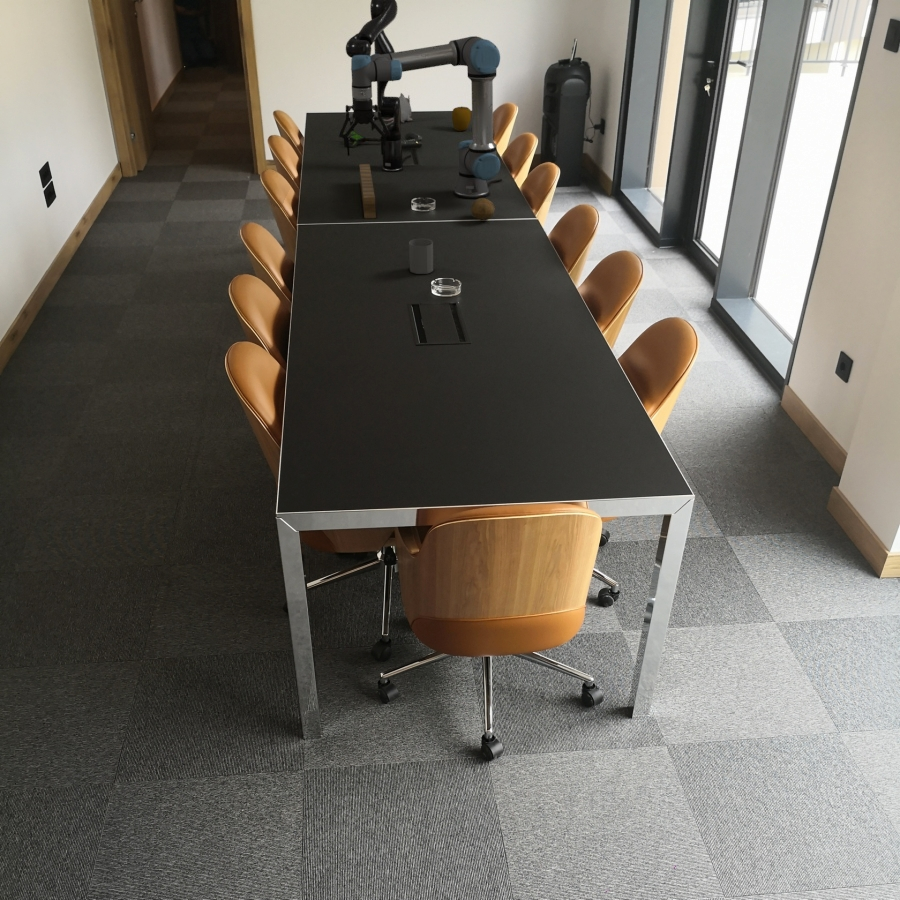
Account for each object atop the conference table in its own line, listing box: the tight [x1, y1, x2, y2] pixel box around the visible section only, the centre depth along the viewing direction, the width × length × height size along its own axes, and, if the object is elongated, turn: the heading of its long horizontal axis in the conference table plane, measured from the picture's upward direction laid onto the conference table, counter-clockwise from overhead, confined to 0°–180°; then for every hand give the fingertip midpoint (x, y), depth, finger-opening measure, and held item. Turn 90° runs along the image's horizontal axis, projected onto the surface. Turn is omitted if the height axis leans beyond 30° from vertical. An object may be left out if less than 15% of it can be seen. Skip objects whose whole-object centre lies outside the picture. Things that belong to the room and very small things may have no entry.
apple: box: [451, 105, 472, 132], centre depth 487 cm, size 11×11×13 cm
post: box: [358, 163, 377, 219], centre depth 377 cm, size 52×5×9 cm, turn 7°
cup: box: [408, 237, 434, 275], centre depth 305 cm, size 8×8×10 cm
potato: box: [470, 197, 495, 221], centre depth 354 cm, size 10×14×8 cm
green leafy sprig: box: [339, 131, 381, 148], centre depth 462 cm, size 6×13×30 cm
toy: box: [383, 92, 413, 124], centre depth 503 cm, size 9×24×15 cm, turn 137°
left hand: (362, 130), depth 380 cm, fingers open, 8 cm apart
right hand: (365, 154), depth 350 cm, fingers open, 13 cm apart
